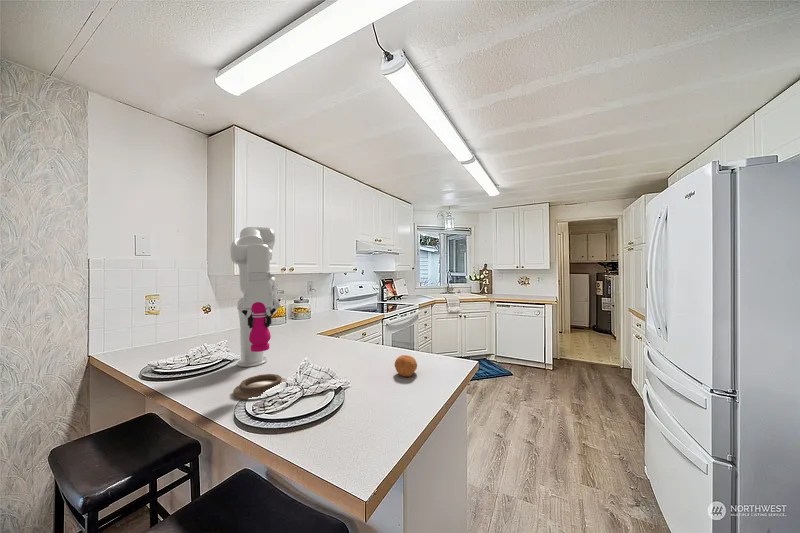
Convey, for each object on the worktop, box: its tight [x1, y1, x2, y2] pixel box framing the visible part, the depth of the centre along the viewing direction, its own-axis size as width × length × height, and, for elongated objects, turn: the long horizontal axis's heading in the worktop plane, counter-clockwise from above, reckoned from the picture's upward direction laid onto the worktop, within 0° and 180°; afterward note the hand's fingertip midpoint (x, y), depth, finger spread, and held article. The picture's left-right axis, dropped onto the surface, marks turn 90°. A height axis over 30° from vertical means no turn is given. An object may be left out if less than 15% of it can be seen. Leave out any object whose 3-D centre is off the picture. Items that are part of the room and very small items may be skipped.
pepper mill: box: [249, 302, 272, 352], centre depth 110 cm, size 7×7×20 cm
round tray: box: [232, 373, 287, 401], centre depth 110 cm, size 18×18×3 cm
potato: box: [394, 354, 418, 377], centre depth 123 cm, size 9×11×8 cm
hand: (259, 326), depth 110 cm, fingers closed on pepper mill, 5 cm apart
